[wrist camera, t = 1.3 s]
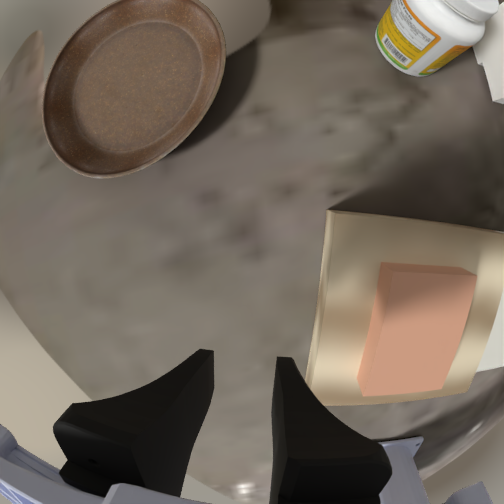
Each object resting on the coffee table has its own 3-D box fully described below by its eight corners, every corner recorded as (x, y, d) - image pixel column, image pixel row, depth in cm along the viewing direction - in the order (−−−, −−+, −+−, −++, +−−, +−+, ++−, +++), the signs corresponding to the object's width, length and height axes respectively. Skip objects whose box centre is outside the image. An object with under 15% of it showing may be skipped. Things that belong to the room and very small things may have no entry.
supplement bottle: (435, 33, 14) (496, -23, 5) (438, 88, 15) (518, 43, 6) (373, 11, 15) (414, -66, 5) (372, 65, 16) (430, -9, 6)
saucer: (273, 101, 17) (272, 88, 15) (102, 217, 20) (81, 221, 17) (177, -19, 15) (167, -36, 13) (45, 85, 18) (26, 79, 15)
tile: (430, 373, 17) (441, 389, 15) (356, 378, 17) (362, 396, 15) (460, 267, 15) (477, 275, 13) (381, 262, 16) (393, 271, 14)
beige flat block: (452, 373, 20) (466, 391, 17) (305, 380, 21) (307, 405, 18) (490, 229, 17) (513, 235, 14) (326, 209, 18) (335, 213, 15)
